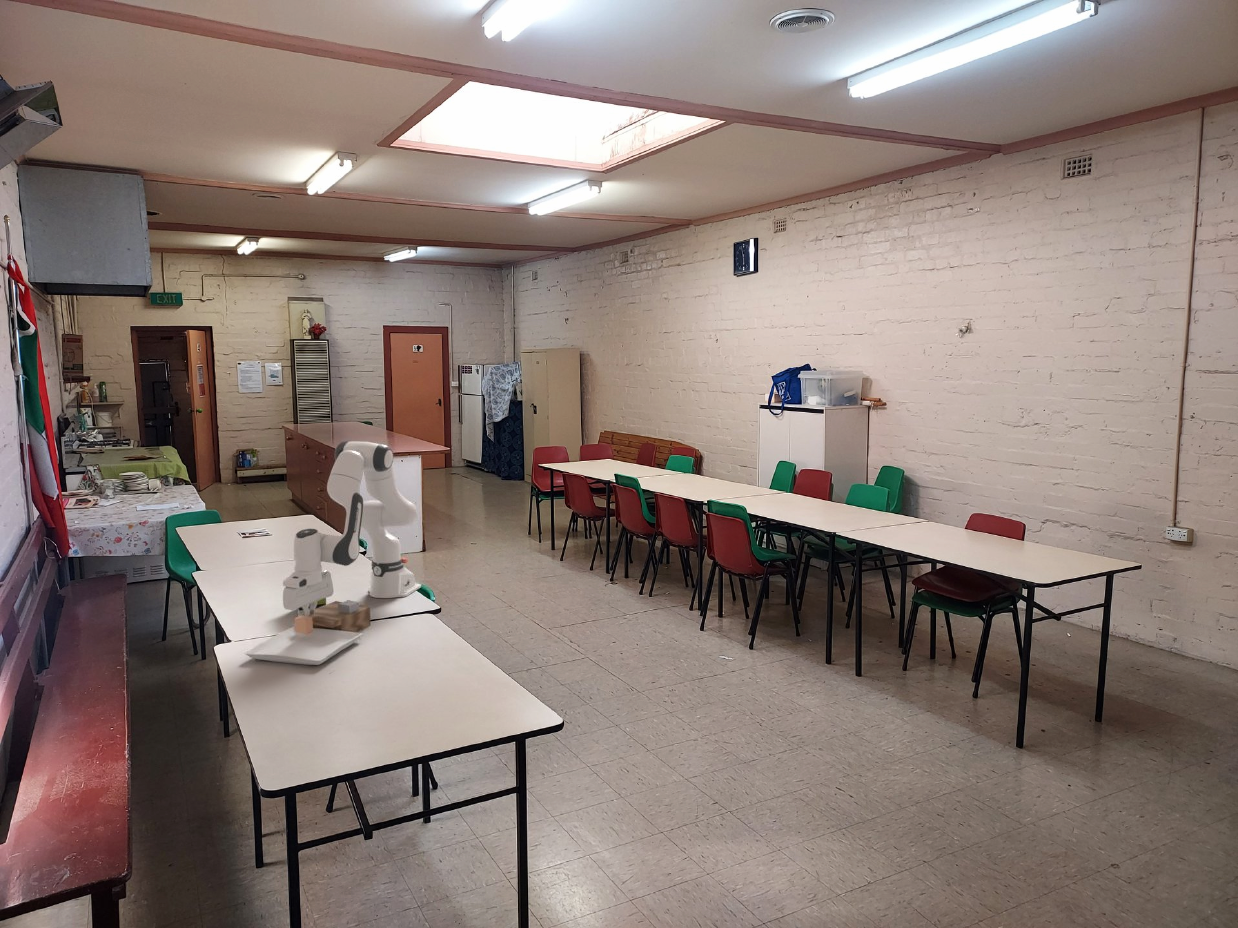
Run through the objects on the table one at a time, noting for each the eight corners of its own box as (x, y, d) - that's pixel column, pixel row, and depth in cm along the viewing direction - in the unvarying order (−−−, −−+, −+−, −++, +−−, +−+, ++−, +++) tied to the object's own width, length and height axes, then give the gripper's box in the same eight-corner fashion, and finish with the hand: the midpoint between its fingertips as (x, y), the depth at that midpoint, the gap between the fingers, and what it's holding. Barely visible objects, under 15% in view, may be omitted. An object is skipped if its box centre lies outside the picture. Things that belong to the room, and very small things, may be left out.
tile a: (301, 615, 281) (294, 618, 279) (312, 617, 279) (305, 620, 277) (301, 629, 282) (295, 632, 279) (312, 631, 280) (306, 634, 277)
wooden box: (336, 619, 304) (335, 600, 303) (370, 625, 297) (370, 606, 296) (297, 634, 286) (297, 615, 285) (333, 641, 280) (332, 622, 279)
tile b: (348, 608, 295) (348, 600, 294) (359, 609, 293) (359, 601, 292) (338, 611, 290) (338, 603, 290) (349, 613, 288) (349, 605, 288)
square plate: (320, 671, 256) (320, 659, 255) (243, 664, 261) (242, 652, 260) (364, 641, 282) (363, 631, 281) (292, 635, 287) (292, 624, 287)
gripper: (323, 568, 292) (324, 605, 294) (278, 582, 273) (280, 622, 275) (337, 570, 289) (338, 607, 291) (293, 584, 271) (294, 625, 273)
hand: (309, 615), depth 283 cm, fingers closed
